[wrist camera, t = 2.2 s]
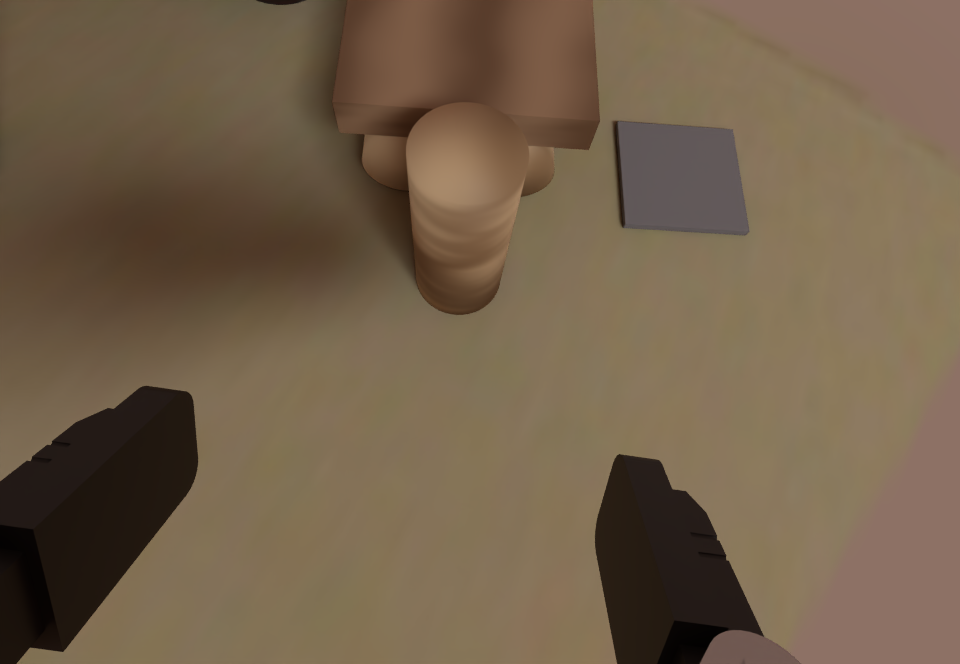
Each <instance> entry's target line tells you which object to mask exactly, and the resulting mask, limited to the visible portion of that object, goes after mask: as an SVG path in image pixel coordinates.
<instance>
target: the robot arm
mask: <svg viewBox="0 0 960 664" xmlns="http://www.w3.org/2000/svg"><path fill="white" fill-rule="evenodd" d="M197 467H198V452H197V440H196V428H195V416H194V404H193V399H192V396H191V395H190V393H188V392H186V391H179V390H172V389H165V388H158V387H151V386H143V387H141V388H139V389H138V390H136V391H135V392H134V393H133V394H132V395H130V396H129V397H128V398H127V399H125V400H124V401H123V402H122V403H121V404H119V405H118V406H117V407H116V408H114V409H110V408H107V409H105V410H103V411H100V412H98V413H96V414H94V415H91V416H89V417H87V418H85V419H83V420H80V421H78V422H76V423H75V424H73V425H72V426H71V427H70V428H68V429H67V430H66V431H64V432H63V433H62V434H61V435H59V436H58V437H57V438H55V439H54V440H53V441H52V444H51V445H46V446H45V447H44V448H43V449H41V450H40V451H39V452H37V453H36V454H35V455H34V456H32V460H31V461H26V462H25V463H23V464H22V465H21V466H20V467H18V468H17V469H16V470H14V471H13V472H12V473H11V474H9V475H8V476H7V477H5V478H4V479H3V480H2V481H0V664H16V663H17V662H18V661H19V660H20V659H21V657H22V656H23V655H24V654H25V653H26V652H27V650H28V649H29V648H30V647H31V648H38V649H46V650H53V651H60V652H64V650H65V649H66V648H67V647H68V645H69V644H70V643H71V641H72V640H73V639H74V638H75V636H76V635H77V634H78V632H79V631H80V630H81V629H82V627H83V626H84V625H85V624H86V622H87V621H88V620H89V618H90V617H91V616H92V615H93V613H94V612H95V611H96V610H97V608H98V607H99V606H100V604H101V603H102V602H103V601H104V599H105V598H106V597H107V596H108V594H109V593H110V592H111V590H112V589H113V588H114V587H115V585H116V584H117V583H118V582H119V580H120V579H121V578H122V576H123V575H124V574H125V573H126V571H127V570H128V569H129V567H130V566H131V565H132V564H133V562H134V561H135V560H136V559H137V557H138V556H139V555H140V553H141V552H142V551H143V550H144V548H145V547H146V546H147V545H148V543H149V542H150V541H151V539H152V538H153V537H154V536H155V534H156V533H157V532H158V531H159V529H160V528H161V527H162V525H163V524H164V523H165V522H166V520H167V519H168V518H169V517H170V515H171V514H172V513H173V511H174V510H175V509H176V508H177V506H178V505H179V504H180V503H181V501H182V500H183V499H184V497H185V496H186V495H187V493H188V492H189V490H190V489H191V487H192V484H193V482H194V479H195V476H196V472H197ZM595 548H596V555H597V560H598V566H599V571H600V576H601V581H602V587H603V592H604V597H605V602H606V608H607V613H608V618H609V623H610V629H611V634H612V639H613V644H614V650H615V655H616V660H617V664H801V663H800V662H799V661H798V660H797V659H796V658H795V657H794V656H792V655H791V654H790V653H789V652H788V651H786V650H785V649H784V648H782V647H781V646H779V645H778V644H776V643H774V642H773V641H771V640H769V639H767V638H765V637H764V635H763V633H762V631H761V629H760V627H759V625H758V623H757V620H756V618H755V616H754V614H753V612H752V610H751V608H750V605H749V603H748V601H747V599H746V597H745V595H744V593H743V590H742V588H741V586H740V584H739V582H738V580H737V578H736V575H735V573H734V571H733V569H732V567H731V565H730V563H729V561H727V560H726V554H725V552H724V550H723V548H722V545H721V543H720V541H718V540H717V535H716V533H715V530H714V528H713V526H712V524H711V522H710V520H709V518H708V515H707V513H706V512H705V511H704V510H703V509H702V508H701V507H700V506H699V505H698V504H697V503H696V501H695V500H694V499H693V498H692V497H691V496H690V495H689V494H688V493H687V492H686V491H680V490H673V489H672V487H671V485H670V483H669V480H668V478H667V475H666V473H665V470H664V468H663V465H662V463H661V462H660V461H659V460H656V459H649V458H642V457H635V456H628V455H620V454H619V455H617V456H616V458H615V460H614V462H613V466H612V469H611V472H610V476H609V479H608V483H607V486H606V490H605V493H604V497H603V500H602V504H601V507H600V511H599V514H598V518H597V523H596V531H595Z"/></svg>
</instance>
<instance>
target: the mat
mask: <svg viewBox="0 0 960 664" xmlns="http://www.w3.org/2000/svg"><path fill="white" fill-rule="evenodd" d="M616 137H617V150H618V164H619V177H620V191H621V205H622V218H623V228H636V229H653V230H669V231H685V232H702V233H718V234H734V235H746V234H747V233H748V232H749V226H748V220H747V214H746V207H745V201H744V195H743V189H742V183H741V177H740V171H739V165H738V159H737V153H736V147H735V141H734V135H733V129H719V128H705V127H691V126H677V125H663V124H650V123H636V122H622V121H618V122H617V124H616Z"/></svg>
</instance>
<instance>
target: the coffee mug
mask: <svg viewBox="0 0 960 664" xmlns="http://www.w3.org/2000/svg"><path fill="white" fill-rule="evenodd" d="M257 1H260V2H264V3H268V4H276V5H286V4H294V3H299V2H302V1H305V0H257Z"/></svg>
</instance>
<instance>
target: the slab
mask: <svg viewBox="0 0 960 664" xmlns="http://www.w3.org/2000/svg"><path fill="white" fill-rule="evenodd" d="M458 102H471V103H479V104H483V105H487V106H490V107H492V108H495V109H497V110H499V111H501V112H502V113H504V114H506V115H507V116H508V117H509V118H511V119H512V120H513V121H514V122H515V123H516V124H517V125H518V126H519V128H520V129H521V130H522V132H523V134H524V136H525V138H526V140H527V143H528V148H529V164H528V168H527V172H526V176H525V180H524V184H523V189H522V193H521V197H522V196H527V195H530V194H533V193H536V192H538V191H540V190H542V189H543V188H545V187H546V186H547V185H548V184H549V183H550V182H551V180H552V178H553V176H554V147H555V148H569V149H584V150H589V148H590V145H591V143H592V140H593V138H594V135H595V132H596V130H597V127H598V125H599V122H600V115H599V98H598V82H597V66H596V50H595V33H594V17H593V1H592V0H347V5H346V12H345V19H344V25H343V32H342V39H341V45H340V52H339V58H338V65H337V72H336V78H335V85H334V92H333V98H332V104H333V108H334V112H335V116H336V121H337V125H338V129H339V133H352V134H365V138H364V147H363V155H362V164H363V167H364V169H365V171H366V172H367V173H368V174H369V176H370V177H372V178H373V179H374V180H376V181H377V182H379V183H381V184H382V185H385V186H387V187H390V188H393V189H397V190H403V191H409V185H408V173H407V161H406V144H407V139H408V136H409V134H410V132H411V130H412V128H413V127H414V125H415V124H416V122H417V121H418V120H419V119H420V118H421V117H423V116H424V115H425V114H426V113H428V112H430V111H431V110H433V109H435V108H438V107H440V106H443V105H446V104H451V103H458Z"/></svg>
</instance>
